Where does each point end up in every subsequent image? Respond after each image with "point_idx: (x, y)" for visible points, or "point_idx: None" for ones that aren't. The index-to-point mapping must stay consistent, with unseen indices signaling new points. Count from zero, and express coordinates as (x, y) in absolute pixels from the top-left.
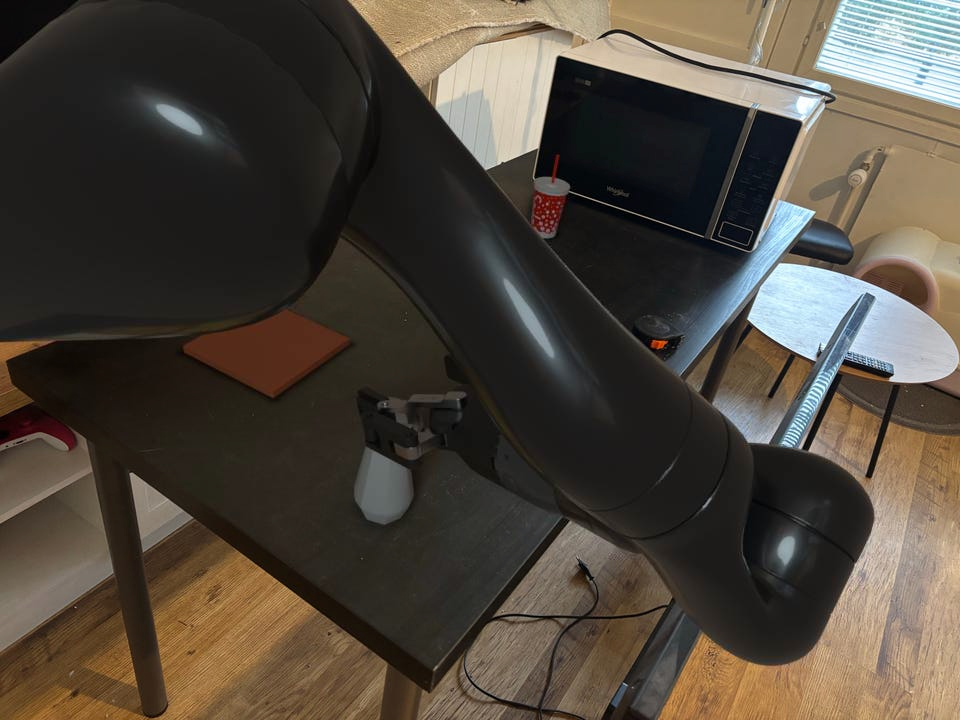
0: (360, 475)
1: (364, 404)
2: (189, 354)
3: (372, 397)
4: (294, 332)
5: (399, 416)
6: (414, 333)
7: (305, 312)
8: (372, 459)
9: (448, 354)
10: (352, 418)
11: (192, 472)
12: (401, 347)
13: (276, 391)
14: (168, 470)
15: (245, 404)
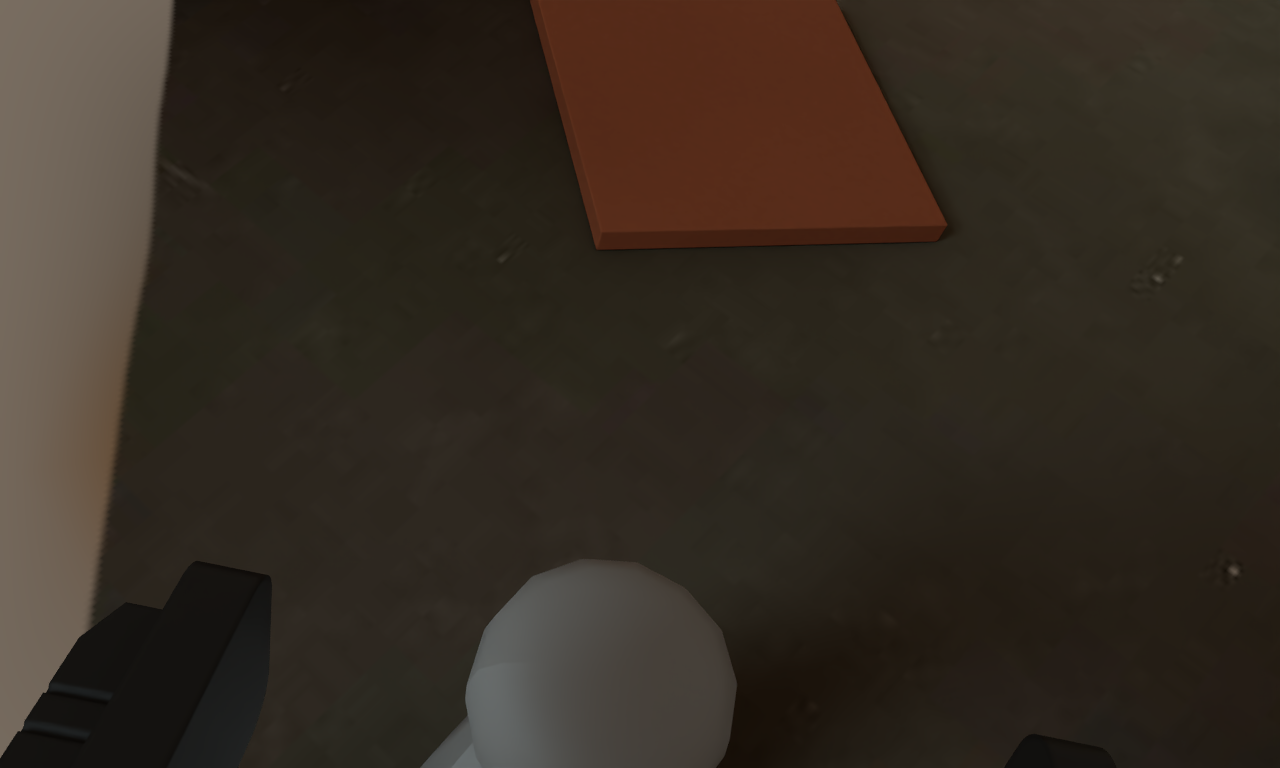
0: (445, 744)
1: (13, 742)
2: (533, 13)
3: (82, 747)
4: (820, 116)
5: (604, 752)
6: (1152, 332)
7: (906, 88)
8: (460, 765)
9: (1070, 751)
10: (736, 462)
11: (191, 303)
12: (1076, 347)
13: (614, 237)
14: (151, 256)
15: (516, 217)
